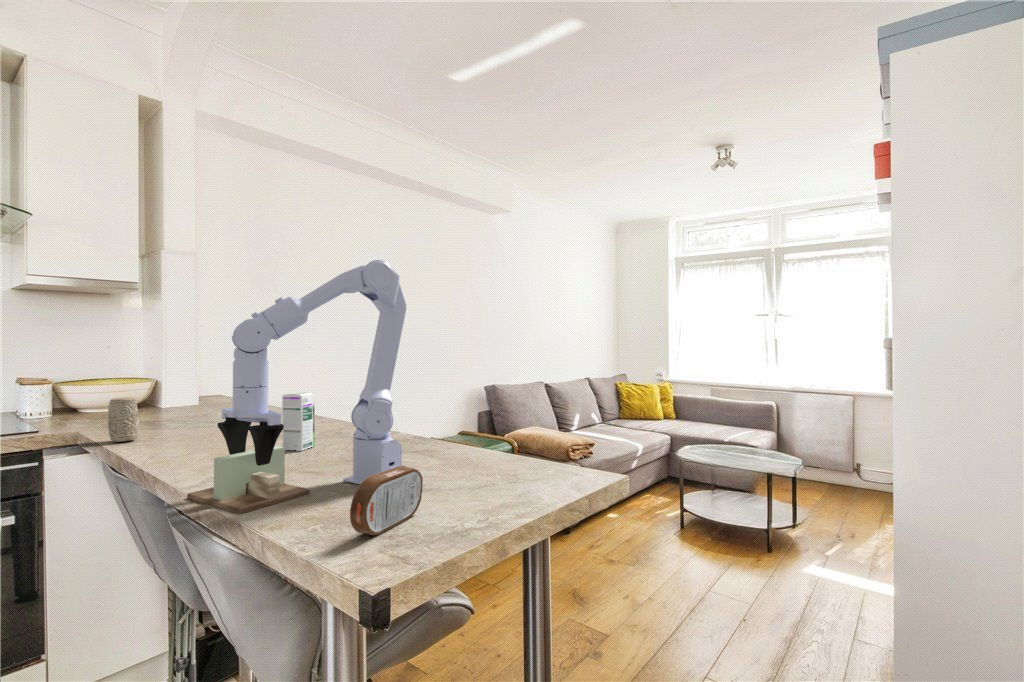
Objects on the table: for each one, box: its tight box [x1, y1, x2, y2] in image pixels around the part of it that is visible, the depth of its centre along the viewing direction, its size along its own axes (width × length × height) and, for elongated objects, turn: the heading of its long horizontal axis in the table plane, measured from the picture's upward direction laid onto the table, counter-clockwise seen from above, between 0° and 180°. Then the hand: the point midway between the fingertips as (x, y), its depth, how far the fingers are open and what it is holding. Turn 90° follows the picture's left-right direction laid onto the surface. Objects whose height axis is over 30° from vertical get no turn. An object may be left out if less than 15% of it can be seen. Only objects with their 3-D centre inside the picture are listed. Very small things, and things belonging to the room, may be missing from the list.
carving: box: [107, 396, 140, 443], centre depth 139 cm, size 6×8×12 cm
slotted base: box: [186, 472, 311, 515], centre depth 91 cm, size 16×13×4 cm
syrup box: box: [281, 391, 316, 452], centre depth 131 cm, size 6×6×14 cm
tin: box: [349, 464, 424, 536], centre depth 77 cm, size 15×3×8 cm, turn 156°
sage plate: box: [213, 445, 286, 501], centre depth 91 cm, size 12×2×7 cm, turn 150°
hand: (250, 461), depth 91 cm, fingers open, 7 cm apart
